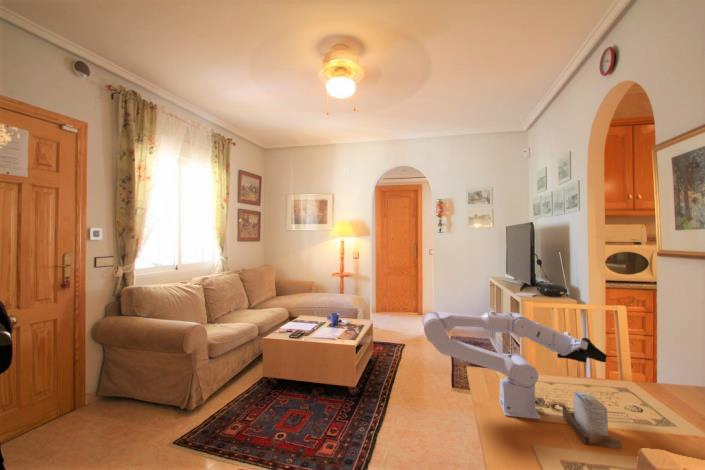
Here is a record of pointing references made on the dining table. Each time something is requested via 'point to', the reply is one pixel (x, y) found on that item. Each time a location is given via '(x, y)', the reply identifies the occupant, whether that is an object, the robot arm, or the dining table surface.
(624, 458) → the dining table surface
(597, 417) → the medicine box
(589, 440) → the walnut u-shaped bracket
